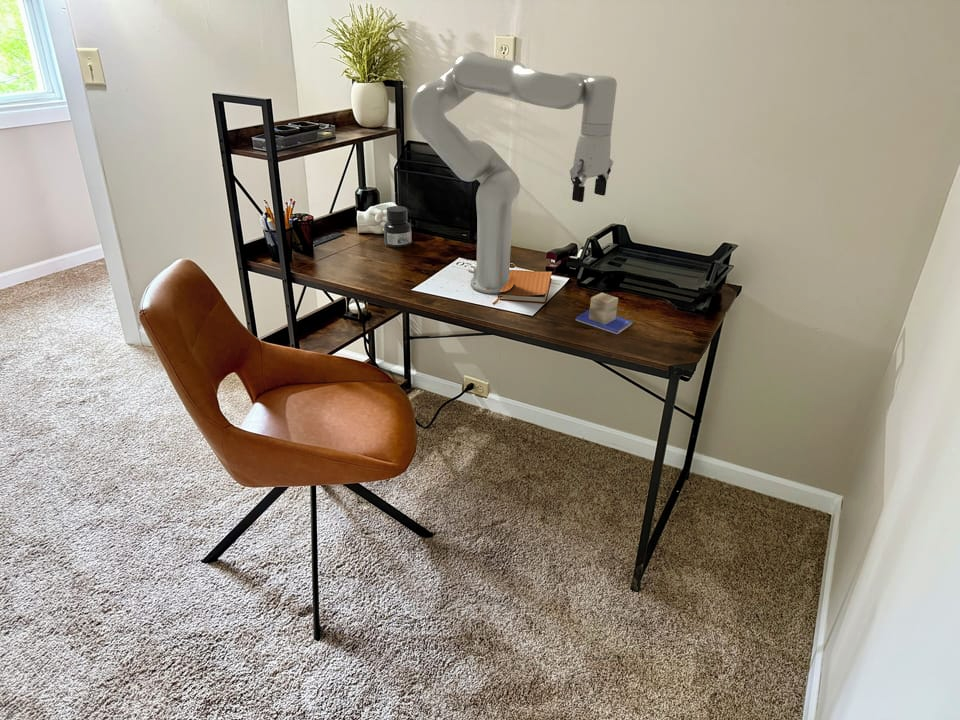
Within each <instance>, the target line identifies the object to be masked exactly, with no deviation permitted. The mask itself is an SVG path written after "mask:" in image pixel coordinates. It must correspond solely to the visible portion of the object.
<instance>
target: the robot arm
mask: <svg viewBox="0 0 960 720" xmlns="http://www.w3.org/2000/svg"><path fill="white" fill-rule="evenodd" d="M617 87H618V82H617V79H615V77H612V76H607V75H586V74H581V73H579V72H578V73H577V72H567V73H565V74H563V75H560V74H559V75H558V74H552V73H546V72H542V71H538V70H534V69H530V68H529V67H527V66H525V65H524V64H522V63H521V62H518V61H515V60H510V59H502V58H496V57H491V56H488V55H486V54H485V53H484V52H480V51H472V52H468V53H463V54H462V55H460V56H458V58H457V59H456V60H455V62H454V63H453V66H452V68H451V69H450V70H448V71H447V72H446V73H444V74H443V75H442V76H440V77H439V78H437V79H434V80H430V81H428V82H425V83H423V84H422V85H420V86H419V87H418V88H417V90H416V91H415V92H414V94H413V96H412V100H411V105H410V113H411V114H410V115H411V120H412V124H413V125H414V128H415V130H416V131H417V133H418V134H419V135H420V136H421V138H422V139H423V140H424V141H425V142H426V143H427V144H428V145H429V146H430V147H431V148H432V149H433V150H434V152H435V153H436V154H437V155H438V157H440V159H441V160H442V161H443V162H444V163H445V164H446V165H447V166H448V168H450V169H451V171H452V172H453V173H454V174H455V175H456V177H457V178H459V179H460V180H461V181H465V182H473V181H478V182H479V183H480V185H479V186H478V188H477V192H476V196H475V204H476V217H477V225H476V226H477V230H476V231H477V232H476V233H477V237H476V240H477V241H476V264H475V263H471V265H470V267H468V270H467V271H468V273H470V274H473V277H472V279H470V287H471V288H472V289H473V290H475V291H476V292H479V293H480V292H481V293H482V294H483V293H485V294H500V293H499V292H500V291H501V289H502V287H503V286H504V285H505V284H507V283H508V282H509V278H510V265H511V263H510V262H511V247H512V246H511V245H512V226H513V222H512V217H513V216H512V204H513V202H514V200H515V199H516V198H517V196H518V195H519V194H520V190H521V183H520V179H519V177H518V175H517V174H516V172H515V171H514V170H513V169H512V168H511V167H510V165H508V163H507V162H506V161H505V160H504V159H503V158H502V157H501V156H500V154H499V153H498V152H497V151H496V150H495V149H494V148H493V147H492V146H491V145H490V144H489V143H487V142H485V141H483V140H481V139H471V140H469V139H468V137H467V136H466V135H465V134H464V133H462V131H461V130H460V129H459V128H458V127H457V126H456V125H455V124H454V123H453V122H451V120H449V119H448V118H447V117H446V116H445V113H447V112H450V111H453V110H454V109H455V108H457V106H459V105H461V104H462V103H463V102H464V101H466V100H467V99H468V98H469V97H471V96H473V95H474V94H475V93H480V94H481V93H482V94H487V95H493V96H498V97H504V98H509V99H512V100H514V101H519V102H522V103H523V102H524V103H526V104H530V105H534V106H538V107H539V106H540V107H543V108H550V109H555V110H570V109H573V108H574V107H575V106H577V105H582V117H581V126H580V135H579V136H578V139H577V143H576V147H575V152H574V157H573V158H574V159H573V164H572V165H573V166H572V167H571V168H570V170H569V175H570V180H571V184H572V185H573V187H572V195H571V197H572V198H571V199H572V201H575V202H579V203H583V202H584V200H585V199H584V198H585V191H586V190H585V189H586V186H584V185H585V183H586V181H587V179H590V178H595V177H596V178H595V181H594V182H595V183H594V192H593V193H594V194H595V195H598V196H602V197H604V196H605V195H606V194H607V192H606V191H607V184H608V183H607V182H608V180H609V178H610V177H609V175H610V174H611V171H612V170H611V169H612V167H613V164H614V160H612V159H611V148H612V147H611V145H612V143H611V142H612V141H611V138H612V137H611V136H612V129H613V128H612V127H613V121H614V112H615V103H616V102H615V101H616V95H617ZM580 178H581V179H580Z"/></svg>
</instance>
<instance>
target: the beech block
mask: <svg viewBox="0 0 960 720" xmlns="http://www.w3.org/2000/svg"><path fill="white" fill-rule="evenodd" d="M618 304H619V298H618V297H616V296H613V295H611V294H608V293H604V292H600V293H598V294H596V295H593V296H592V297H590V306H589V309H590V311H589V319H590V320H593V321H596V322H598V323H601V324H604V325H605V324H607V323H609V322H611V321H613V320H615V319H616V317H617V312H618V311H617V310H618Z"/></svg>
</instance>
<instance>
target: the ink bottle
mask: <svg viewBox="0 0 960 720" xmlns="http://www.w3.org/2000/svg"><path fill="white" fill-rule="evenodd" d="M383 232H384V233H383V235H384V244H385V246H387V247H388V248H389V247H390V248H394V249H395V248H396V249H398V248H400V249H401V248H406V247H409V246H411V244H412V226H411V223H410V222H408V207H405V206H401V205H393V206H392V205H391V206H388V207H386V222H385V223H384V225H383Z"/></svg>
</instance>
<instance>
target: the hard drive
mask: <svg viewBox="0 0 960 720" xmlns="http://www.w3.org/2000/svg"><path fill="white" fill-rule="evenodd" d="M589 311H590V308H589V309H588V310H586V311H584V312H583V313H581V314H579V315H578V316H576V317H575V321H576V322H579V323H583V324H586V325H589V326H591V327H592V326H593V327H595V328H597V329H600V330H604V331H607V332H610V333H613V334H616V335H618V334H621V332H623V331H624V330H626V329H627V328H629V327H630V326H631V325H633V321H631V320H628V319H625V318H622V317H619V316H616V319H615V320H613V321H611V322H609V323H607V324H605V325H604V324H601V323H598V322H596V321H593V320H590V319H589Z"/></svg>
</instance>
